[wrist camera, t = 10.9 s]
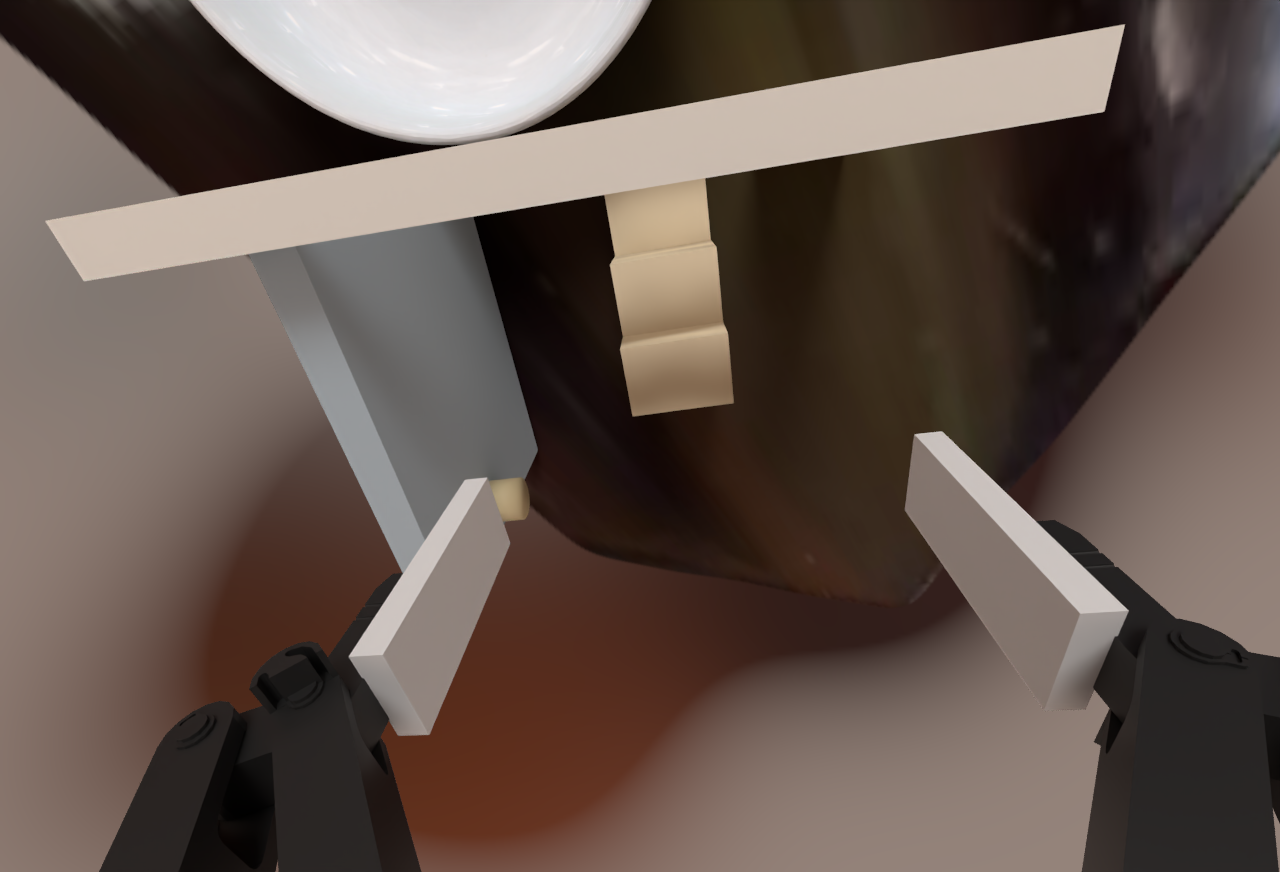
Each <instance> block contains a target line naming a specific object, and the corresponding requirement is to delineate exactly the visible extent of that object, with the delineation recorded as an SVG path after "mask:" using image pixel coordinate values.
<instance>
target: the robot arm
mask: <svg viewBox="0 0 1280 872" xmlns="http://www.w3.org/2000/svg"><path fill="white" fill-rule="evenodd" d="M905 511H906V512H907V514H908V515H909V517H910V518H911V520H912V521H913V523H914V524H915V525H916V527H917V528H918V530H919V531H920V533H921V534H922V536H923V537H924V538H925V540H926V541H927V543H928V544H929V546H930V547H931V549H932V550H933V551H934V553H935V554H936V556H937V557H938V559H939V560H940V562H941V563H942V564H943V566H944V567H945V569H946V570H947V572H948V573H949V575H950V576H951V577H952V579H953V580H954V582H955V583H956V585H957V586H958V587H959V589H960V590H961V592H962V593H963V595H964V596H965V597H966V599H967V601H968V602H969V603H970V605H971V606H972V608H973V609H974V611H975V612H976V614H977V615H978V616H979V618H980V619H981V621H982V622H983V624H984V625H985V627H986V628H987V629H988V631H989V632H990V634H991V635H992V637H993V638H994V639H995V641H996V642H997V644H998V645H999V647H1000V648H1001V650H1002V651H1003V653H1004V654H1005V655H1006V657H1007V658H1008V660H1009V661H1010V663H1011V664H1012V666H1013V667H1014V668H1015V670H1016V671H1017V673H1018V674H1019V676H1020V677H1021V678H1022V680H1023V681H1024V683H1025V684H1026V686H1027V687H1028V689H1029V690H1030V692H1031V693H1032V694H1033V696H1034V697H1035V699H1036V700H1037V702H1038V703H1039V704H1040V706H1041V707H1042V709H1043V710H1044V711H1054V710H1079V709H1080V710H1081V709H1086V707H1087V705H1088V703H1089V700H1090V698H1091V696H1092V694H1093V691H1094V690H1095V691H1096V692H1097V693H1098V694H1099V696H1100V697H1101V698H1102V699H1103V701H1104V702H1105V703H1106V704H1107V705H1108V707H1109V708H1110V709H1109V711H1108V713H1107V715H1106V717H1105V720H1104V722H1103V724H1102V726H1101V728H1100V730H1099V732H1098V734H1097V736H1096V739H1095V741H1094V742H1095V743H1097V744H1099V745H1101V748H1100V755H1099V762H1098V768H1097V775H1096V782H1095V788H1094V794H1093V801H1092V808H1091V814H1090V821H1089V828H1088V834H1087V841H1086V848H1085V855H1084V861H1083V868H1082V872H1279V868H1278V860H1277V859H1278V858H1277V848H1276V838H1275V828H1274V817H1273V809H1274V812H1275V814H1276V816H1277V818H1278V820H1279V823H1280V657H1273V656H1268V655H1261V654H1256V653H1251V652H1248V651H1247V650H1246V649H1245V648H1243V646H1242V645H1240V644H1239V643H1238V642H1236V641H1234V640H1233V639H1231V638H1229V637H1228V636H1226V635H1225V634H1223V633H1221V632H1219V631H1217V630H1214V629H1212V628H1209V627H1207V626H1205V625H1202V624H1199V623H1195V622H1191V621H1187V620H1183V619H1176V618H1175V617H1174V616H1172V615H1171V614H1170V613H1169V612H1168V611H1167V610H1166V609H1164V608H1163V607H1162V606H1161V605H1160V604H1159V603H1158V602H1156V601H1155V600H1154V599H1153V598H1152V597H1151V596H1150V595H1149V594H1148V593H1146V592H1145V591H1144V590H1143V589H1142V588H1141V587H1140V586H1139V585H1137V584H1136V583H1135V582H1134V581H1133V580H1132V579H1131V578H1130V577H1128V576H1127V575H1126V574H1125V573H1124V572H1123V571H1122V570H1120V569H1119V568H1118V567H1115V566H1114V563H1113V562H1111V561H1110V560H1109V559H1108V558H1107V557H1106V556H1105V555H1104V554H1102V553H1099V551H1098V549H1097V548H1096V547H1095V546H1093V545H1092V544H1091V543H1090V542H1089V541H1088V540H1087V539H1085V538H1084V537H1083V536H1082V535H1081V534H1080V533H1078V532H1076V531H1074V530H1072V529H1070V528H1068V527H1067V526H1065V525H1063V524H1061V523H1059V522H1057V521H1055V520H1050V521H1037V522H1036V521H1035V520H1034V519H1033V518H1031V517H1030V515H1028V514H1027V513H1026V512H1025V511H1024V510H1023V509H1022V508H1021V507H1020V506H1019V505H1018V504H1017V503H1016V502H1015V501H1014V500H1013V499H1012V498H1011V497H1010V496H1008V494H1007V493H1006V492H1005V491H1003V490H1002V489H1001V488H1000V487H999V486H998V485H997V484H996V483H995V482H994V481H993V480H992V479H991V478H990V477H989V476H988V475H987V474H986V473H985V472H984V471H983V470H982V469H981V468H980V467H978V466H977V465H976V464H975V463H974V462H973V461H972V460H971V459H970V458H969V457H968V456H967V455H966V454H965V453H964V452H963V451H962V450H961V449H960V448H959V447H958V446H957V445H956V444H955V443H953V442H952V441H951V440H950V439H949V438H948V437H947V436H946V435H945V434H944V433H943V432H932V433H922V434H914V441H913V449H912V457H911V465H910V473H909V481H908V489H907V497H906V505H905ZM509 545H510V541H509V538H508V535H507V533H506V529H505V526H504V523H503V521H502V518H501V515H500V512H499V509H498V506H497V503H496V501H495V498H494V495H493V492H492V489H491V486H490V483H489V480H488V478H477V479H467V480H465V481H464V482H463V484H462V485H461V487H460V488H459V490H458V491H457V493H456V494H455V496H454V497H453V499H452V500H451V502H450V503H449V505H448V506H447V508H446V509H445V511H444V512H443V514H442V515H441V517H440V519H439V520H438V522H437V523H436V525H435V526H434V528H433V529H432V531H431V532H430V534H429V535H428V537H427V538H426V540H425V541H424V543H423V544H422V546H421V547H420V549H419V550H418V552H417V553H416V555H415V556H414V558H413V560H412V561H411V563H410V564H409V566H408V567H407V569H406V570H405V572H404V573H399V574H392V575H391V576H390V577H389V578H388V579H386V580H385V581H384V582H383V583H382V584H381V585H380V586H379V587H377V588H376V589H375V591H374V592H373V594H372V595H371V597H370V598H369V600H368V601H367V602H366V604H365V607H363V608H362V610H361V611H360V612H359V614H358V616H357V617H356V621H353V623H352V624H351V625H350V627H349V628H348V630H347V631H346V632H345V634H344V635H343V637H342V638H341V640H340V641H339V642H338V644H337V645H336V647H335V648H334V650H333V651H332V652H331V654H330V655H329V657H327V656H326V654H325V653H324V651H323V650H322V648H321V647H320V645H319V644H318V643H314V642H303V643H298V644H295V645H293V646H290V647H288V648H286V649H284V650H282V651H281V652H279V653H278V654H276V655H274V656H273V657H271V658H270V659H269V660H268V661H267V662H266V663H265V664H264V665H263V666H262V667H260V669H259V670H258V672H257V673H256V674H255V676H254V677H253V679H252V681H251V685H250V690H251V691H252V693H253V694H254V695H255V697H256V698H257V699H258V700H259V701H260V703H261V704H262V705H263V706H261V707H258V708H255V709H252V710H249V711H246V712H243V713H240V714H239V713H238V712H237V711H236V710H235V708H234V707H233V706H232V705H231V704H230V703H229V702H222V701H219V702H215V703H211V704H208V705H205V706H203V707H201V708H199V709H197V710H196V711H193V712H192V713H190V714H189V715H188V716H186V717H185V718H184V719H182V720H181V721H179V722H178V723H177V724H176V725H175V726H174V727H173V728H172V729H171V730H170V731H169V732H168V733H167V734H166V735H165V737H164V738H163V740H162V741H161V743H160V744H159V746H158V747H157V749H156V752H155V754H154V756H153V758H152V760H151V762H150V765H149V766H148V769H147V771H146V773H145V775H144V777H143V779H142V781H141V783H140V786H139V788H138V790H137V792H136V794H135V796H134V798H133V801H132V803H131V805H130V807H129V809H128V811H127V813H126V815H125V818H124V820H123V822H122V824H121V826H120V828H119V830H118V833H117V835H116V837H115V839H114V841H113V843H112V846H111V848H110V850H109V852H108V854H107V856H106V858H105V860H104V862H103V864H102V867H101V869H100V871H99V872H275V871H276V865H277V861H278V868H279V872H421V869H420V865H419V862H418V858H417V855H416V851H415V848H414V844H413V841H412V837H411V834H410V830H409V826H408V823H407V819H406V816H405V812H404V809H403V805H402V802H401V798H400V794H399V791H398V788H397V784H396V780H395V777H394V773H393V770H392V766H391V763H390V759H389V756H388V752H387V748H386V745H385V743H384V742H383V740H382V739H381V735H382V733H383V731H384V729H385V727H386V725H387V723H388V721H389V722H390V723H391V725H392V726H393V728H394V729H395V731H396V733H397V734H398V736H404V735H429V733H430V731H431V729H432V727H433V724H434V722H435V720H436V717H437V715H438V713H439V710H440V708H441V705H442V703H443V701H444V699H445V696H446V694H447V692H448V689H449V687H450V684H451V682H452V680H453V677H454V675H455V673H456V670H457V668H458V666H459V663H460V661H461V659H462V656H463V654H464V651H465V649H466V647H467V644H468V642H469V640H470V637H471V635H472V633H473V630H474V628H475V626H476V623H477V621H478V619H479V616H480V614H481V611H482V609H483V606H484V604H485V602H486V600H487V597H488V595H489V593H490V590H491V588H492V585H493V583H494V581H495V578H496V576H497V574H498V571H499V569H500V567H501V564H502V562H503V560H504V557H505V555H506V553H507V550H508V548H509Z"/></svg>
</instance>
